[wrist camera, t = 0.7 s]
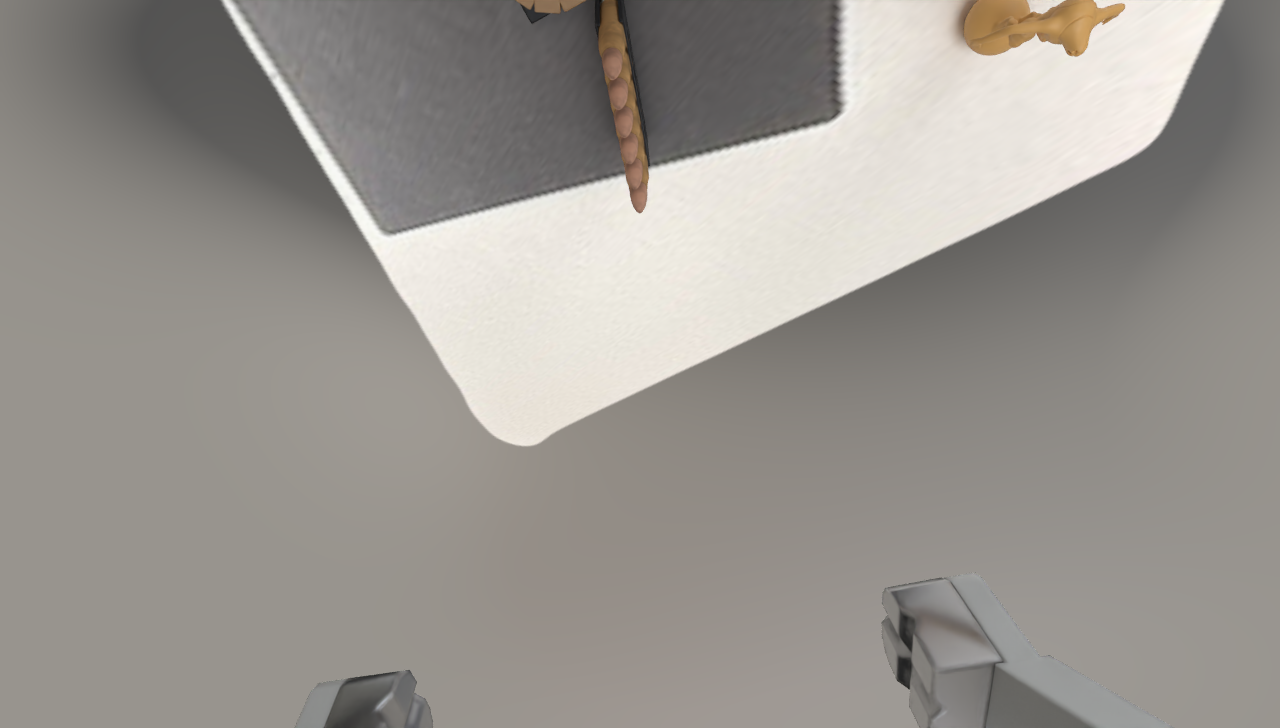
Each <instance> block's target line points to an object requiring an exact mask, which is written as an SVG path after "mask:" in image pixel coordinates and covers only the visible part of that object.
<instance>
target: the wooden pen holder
mask: <svg viewBox="0 0 1280 728" xmlns="http://www.w3.org/2000/svg"><path fill="white" fill-rule="evenodd" d="M516 1H517V2H519V3H520V4H522V5H523V6H525V7H526V8H528V9H529V10H530V9H531V8H532V6H533V4H534V7H535V12H542V13H557V14H560V12H561V6H562V8H563V10H564V11H565V12H567V11H569V10H570V9H572V8H574V7H576V6H577V5H579V4H581V3H583V2H584V1H586V0H516Z"/></svg>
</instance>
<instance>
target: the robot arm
mask: <svg viewBox="0 0 1280 728" xmlns="http://www.w3.org/2000/svg"><path fill="white" fill-rule="evenodd" d="M882 604H883V606H884V608H885V610H886V612H887V614H888V615H887V616H886V618H885V619H884V620H883V621H882V639H883V643H884V648H885V652H886V655H887V658H888V661H889V664H890V666H891V668H892V671H893V673H894V675H895V677H896V679H897V681H898V682H900V683H901V684H903V685H904V686H905V687H907V688H908V689H910V703H909V707H910V709H911V711H912V713H913V715H914V717H915V719H916V721H917V723H918V725H919V727H920V728H1174V727H1172V726H1170V725H1169V724H1167V723H1165V722H1164V721H1162V720H1160V719H1158V718H1157V717H1155V716H1153V715H1152V714H1150V713H1148V712H1146V711H1145V710H1143V709H1141V708H1139V707H1138V706H1136V705H1134V704H1133V703H1131V702H1129V701H1127V700H1126V699H1124V698H1122V697H1121V696H1119V695H1117V694H1116V693H1114V692H1112V691H1110V690H1109V689H1107V688H1105V687H1103V686H1102V685H1100V684H1098V683H1097V682H1095V681H1093V680H1091V679H1090V678H1088V677H1086V676H1085V675H1083V674H1081V673H1079V672H1078V671H1076V670H1074V669H1073V668H1071V667H1069V666H1067V665H1066V664H1064V663H1062V662H1061V661H1059V660H1057V659H1055V658H1054V657H1052V656H1050V655H1048V656H1039V654H1038V653H1037V651H1036V650H1035V649H1034V647H1033V646H1032V645H1031V643H1030V642H1029V641H1028V639H1027V638H1026V637H1025V635H1024V634H1023V633H1022V631H1021V630H1020V628H1019V627H1018V626H1017V624H1016V623H1015V622H1014V621H1013V619H1012V618H1011V616H1010V615H1009V614H1008V612H1007V611H1006V610H1005V608H1004V607H1003V605H1002V604H1001V603H1000V601H999V600H998V599H997V597H996V596H995V595H994V593H993V592H992V591H991V589H990V588H989V586H988V585H987V584H986V582H985V581H984V580H983V578H982V577H981V576H979V575H978V574H976V573H969V574H964V575H958V576H953V577H946V578H937V579H931V580H926V581H920V582H915V583H909V584H904V585H898V586H893V587H888V588H885V589H884V591H883V595H882ZM416 684H417V681H416V680H415V678H414V676H413V675H412V673H411V671H410V670H405V671H397V672H390V673H383V674H376V675H369V676H362V677H355V678H348V679H341V680H335V681H329V682H323V683H319V684H318V685H317V686H316V687H315V688H314V689H313V690H312V691H311V692H310V694H309V696H308V698H307V701H306V703H305V705H304V708H303V710H302V712H301V714H300V716H299V719H298V721H297V723H296V726H295V728H433V720H432V715H431V711H430V707H429V705H428V703H427V701H426V699H425V698H423V697H421V696H419V695H417V694H416V693H414V691H415V687H416Z"/></svg>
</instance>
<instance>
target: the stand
mask: <svg viewBox="0 0 1280 728" xmlns="http://www.w3.org/2000/svg"><path fill="white" fill-rule="evenodd" d="M521 6H522V8H523V10H524V11H525V13H526V15H527V17H528V18H529V20H530V22H531V23H532V24H533V23H534V22H536V21H538V20H540V19H541V18H543V17H545V16H547V15H548V14H550V13H542V12H535V7H534V4H533V6H532V8H531V9H530V10H529V9H528V8H526V7H525V6H523V5H522V4H521ZM561 7H562V6H561Z"/></svg>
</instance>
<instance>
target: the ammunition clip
mask: <svg viewBox="0 0 1280 728" xmlns="http://www.w3.org/2000/svg"><path fill="white" fill-rule="evenodd" d="M595 27H596V32H597V37H598V42H599V52H600V55H601V58H602V64H603V69H604V72H605V81H606V84H607V86H608V92H609V97H610V104H611V109H612V111H613V115H614V121H615V126H616V133H617V136H618V138H619V143H620V150H621V156H622V160H623V162H624V167H625V173H626V180H627V183H628V185H629V191H630V197H631V201H632V204H633V207H634V208H635V210H636V211H637V212H638V213H641V212H643V210H644V208H645V206H646V201H647V183H648V179H649V173H648V166H650V161H649V151H648V140H647V133H646V127H645V121H644V116H643V110H642V104H641V98H640V93H639V87H638V81H637V76H636V70H635V64H634V58H633V53H632V47H631V41H630V36H629V30H628V24H627V18H626V13H625V7H624V1H623V0H595Z"/></svg>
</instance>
